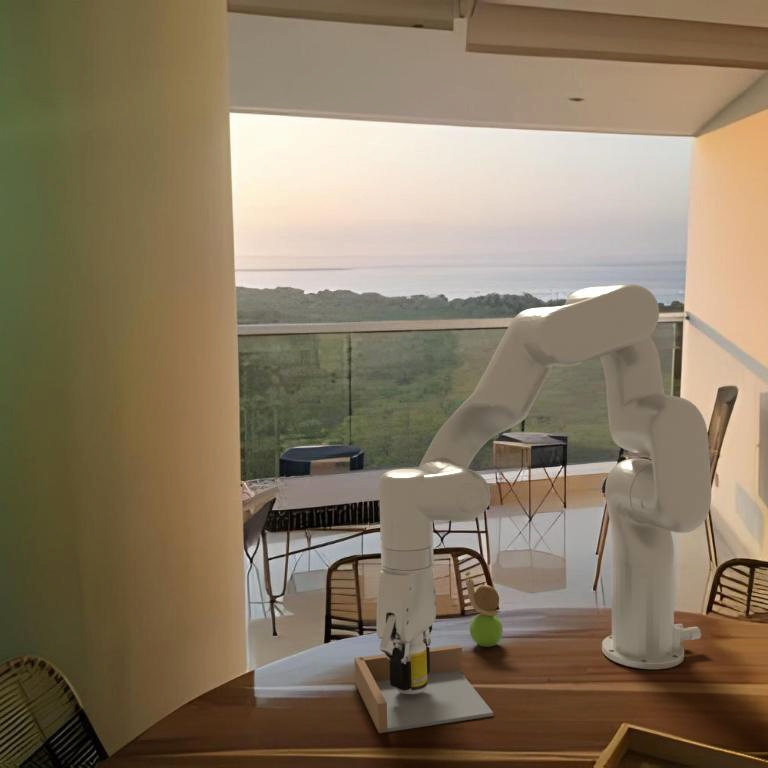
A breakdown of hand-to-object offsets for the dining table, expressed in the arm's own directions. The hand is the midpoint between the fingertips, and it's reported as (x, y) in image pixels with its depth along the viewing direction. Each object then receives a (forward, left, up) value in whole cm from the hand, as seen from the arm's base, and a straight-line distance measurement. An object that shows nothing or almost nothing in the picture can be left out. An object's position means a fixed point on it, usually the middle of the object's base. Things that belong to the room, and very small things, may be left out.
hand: (410, 678), depth 115 cm
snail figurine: (-17, -14, -3) cm, 22 cm away
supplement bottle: (0, 0, -2) cm, 2 cm away
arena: (-1, +2, -3) cm, 4 cm away
